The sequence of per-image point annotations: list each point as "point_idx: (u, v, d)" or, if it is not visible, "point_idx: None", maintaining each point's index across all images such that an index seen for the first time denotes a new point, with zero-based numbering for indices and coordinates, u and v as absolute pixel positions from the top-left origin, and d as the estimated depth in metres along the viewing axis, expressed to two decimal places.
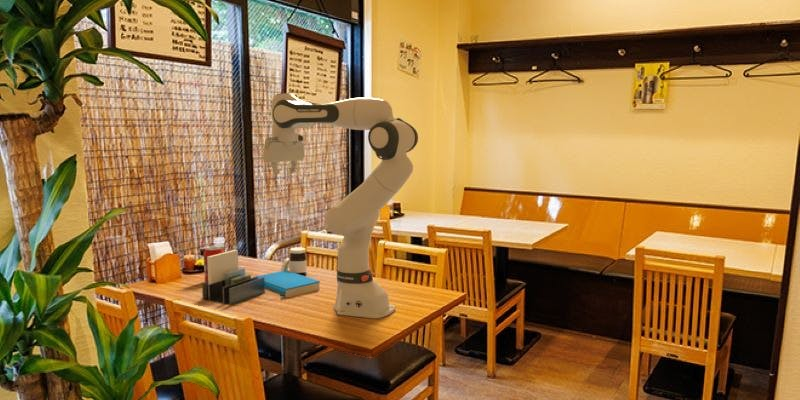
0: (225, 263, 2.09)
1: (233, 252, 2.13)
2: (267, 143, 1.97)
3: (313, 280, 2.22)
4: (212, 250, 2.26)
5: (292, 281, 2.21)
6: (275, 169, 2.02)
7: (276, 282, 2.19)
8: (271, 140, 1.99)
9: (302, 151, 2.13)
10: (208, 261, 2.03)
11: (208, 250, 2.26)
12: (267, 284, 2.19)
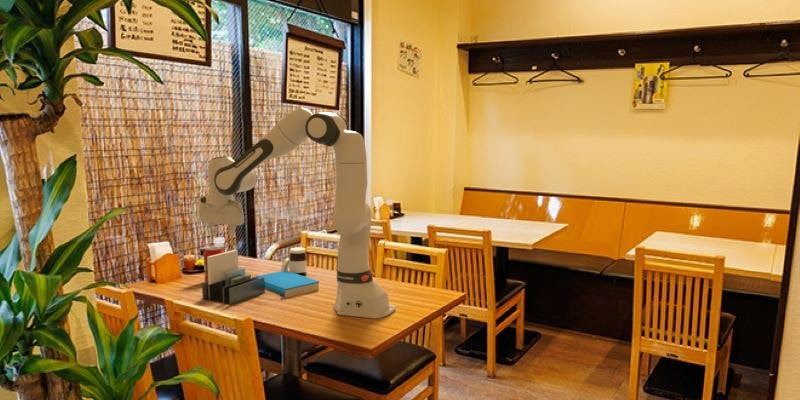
0: (225, 263, 2.09)
1: (233, 252, 2.13)
2: None
3: (312, 280, 2.22)
4: (212, 250, 2.26)
5: (291, 281, 2.20)
6: (233, 231, 2.05)
7: (275, 282, 2.19)
8: None
9: None
10: (208, 261, 2.03)
11: (208, 250, 2.26)
12: (266, 284, 2.19)
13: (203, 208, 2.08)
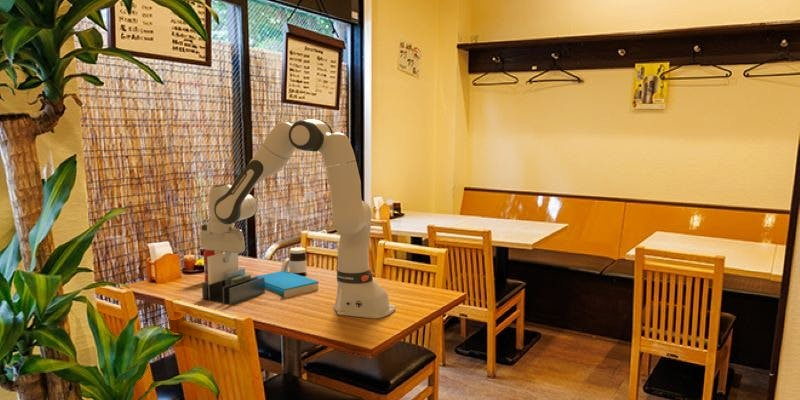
0: (225, 263, 2.09)
1: None
2: None
3: (312, 280, 2.22)
4: (212, 250, 2.26)
5: (291, 281, 2.20)
6: (228, 257, 2.08)
7: (275, 282, 2.19)
8: None
9: None
10: (208, 261, 2.03)
11: (208, 250, 2.26)
12: (266, 284, 2.19)
13: (204, 235, 2.10)
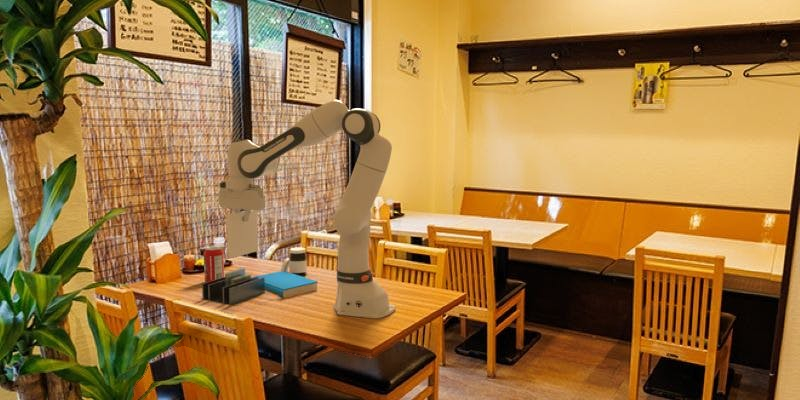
0: (244, 222, 2.02)
1: (252, 211, 2.06)
2: None
3: (311, 280, 2.22)
4: (212, 250, 2.26)
5: (290, 281, 2.20)
6: (247, 216, 2.01)
7: (274, 282, 2.18)
8: None
9: None
10: (227, 218, 1.96)
11: (208, 250, 2.26)
12: None
13: (223, 193, 2.03)
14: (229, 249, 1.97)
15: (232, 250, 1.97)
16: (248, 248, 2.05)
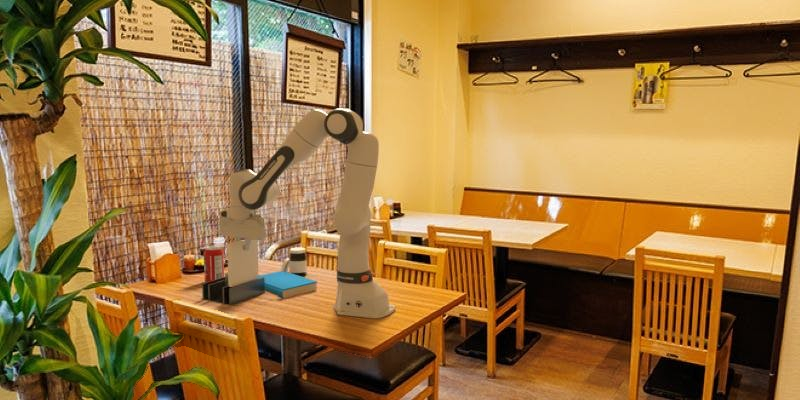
0: (245, 251, 2.04)
1: None
2: None
3: (310, 280, 2.22)
4: (212, 250, 2.26)
5: (289, 281, 2.20)
6: (248, 245, 2.03)
7: (273, 282, 2.18)
8: None
9: None
10: (228, 248, 1.97)
11: (208, 250, 2.26)
12: None
13: (224, 222, 2.04)
14: (230, 278, 1.99)
15: (232, 279, 1.99)
16: (248, 276, 2.06)
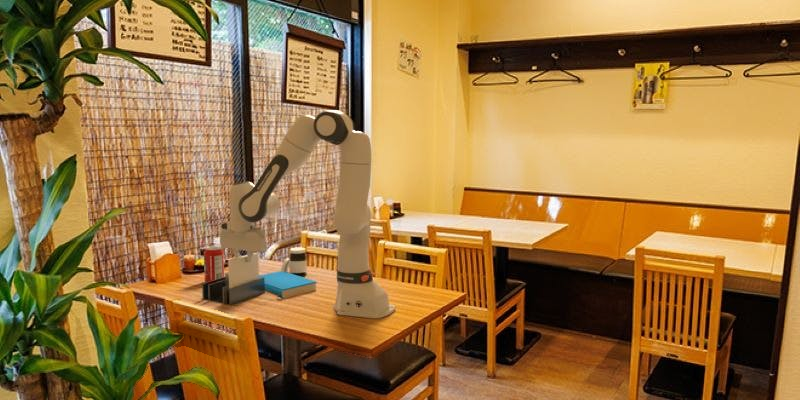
0: (246, 266, 2.04)
1: (254, 255, 2.08)
2: None
3: (310, 280, 2.22)
4: (212, 250, 2.26)
5: (288, 281, 2.20)
6: (250, 257, 2.03)
7: (272, 283, 2.18)
8: None
9: None
10: (229, 264, 1.98)
11: (208, 250, 2.26)
12: None
13: (224, 234, 2.05)
14: None
15: None
16: None
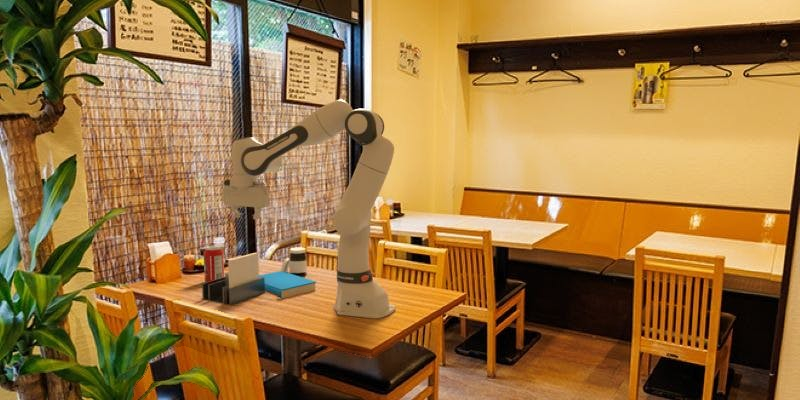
0: (246, 266, 2.04)
1: (254, 255, 2.08)
2: None
3: (309, 281, 2.21)
4: (212, 250, 2.26)
5: (288, 282, 2.20)
6: (258, 214, 2.01)
7: (272, 283, 2.18)
8: None
9: None
10: (229, 264, 1.98)
11: (208, 250, 2.26)
12: None
13: (227, 191, 2.04)
14: None
15: None
16: None
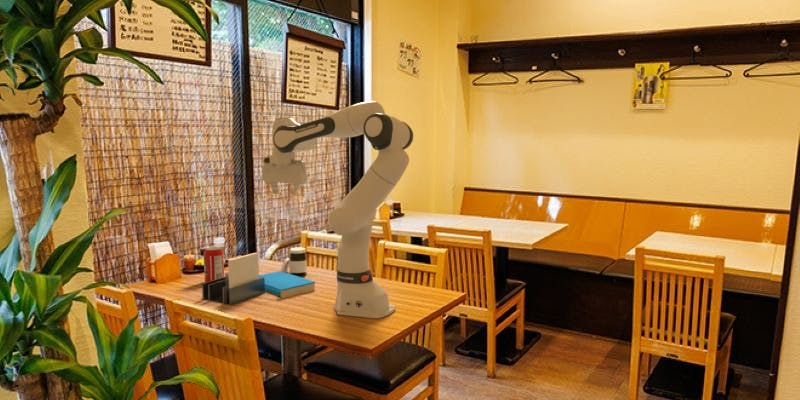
0: (246, 266, 2.04)
1: (254, 255, 2.08)
2: None
3: (308, 281, 2.21)
4: (212, 250, 2.26)
5: (287, 282, 2.20)
6: (296, 190, 2.13)
7: (271, 283, 2.18)
8: None
9: None
10: (229, 264, 1.98)
11: (208, 250, 2.26)
12: None
13: (266, 169, 2.16)
14: None
15: None
16: None
